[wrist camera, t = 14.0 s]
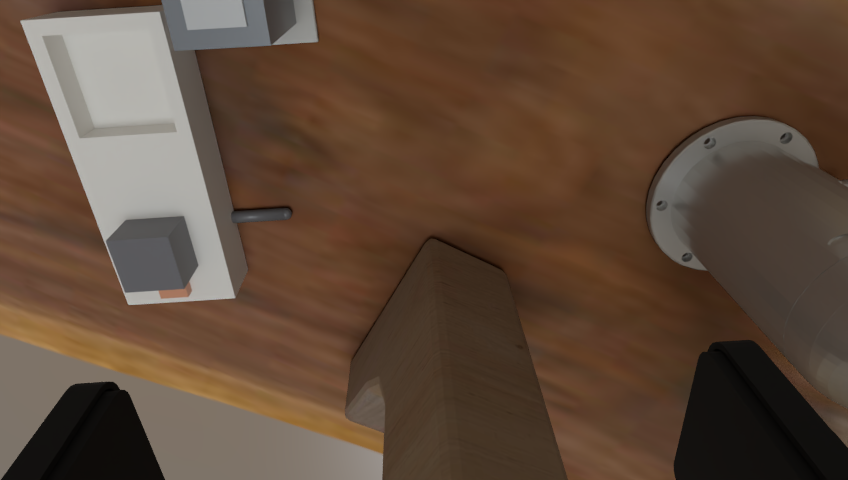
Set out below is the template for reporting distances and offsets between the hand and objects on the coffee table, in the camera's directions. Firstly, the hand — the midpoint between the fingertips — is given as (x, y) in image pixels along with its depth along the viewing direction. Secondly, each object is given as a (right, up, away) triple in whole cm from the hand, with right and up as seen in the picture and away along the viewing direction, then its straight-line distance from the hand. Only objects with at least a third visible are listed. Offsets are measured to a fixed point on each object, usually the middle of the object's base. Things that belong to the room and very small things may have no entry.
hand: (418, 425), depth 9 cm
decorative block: (0, -4, +39) cm, 39 cm away
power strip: (-16, +9, +31) cm, 36 cm away
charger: (-11, +19, +25) cm, 34 cm away
